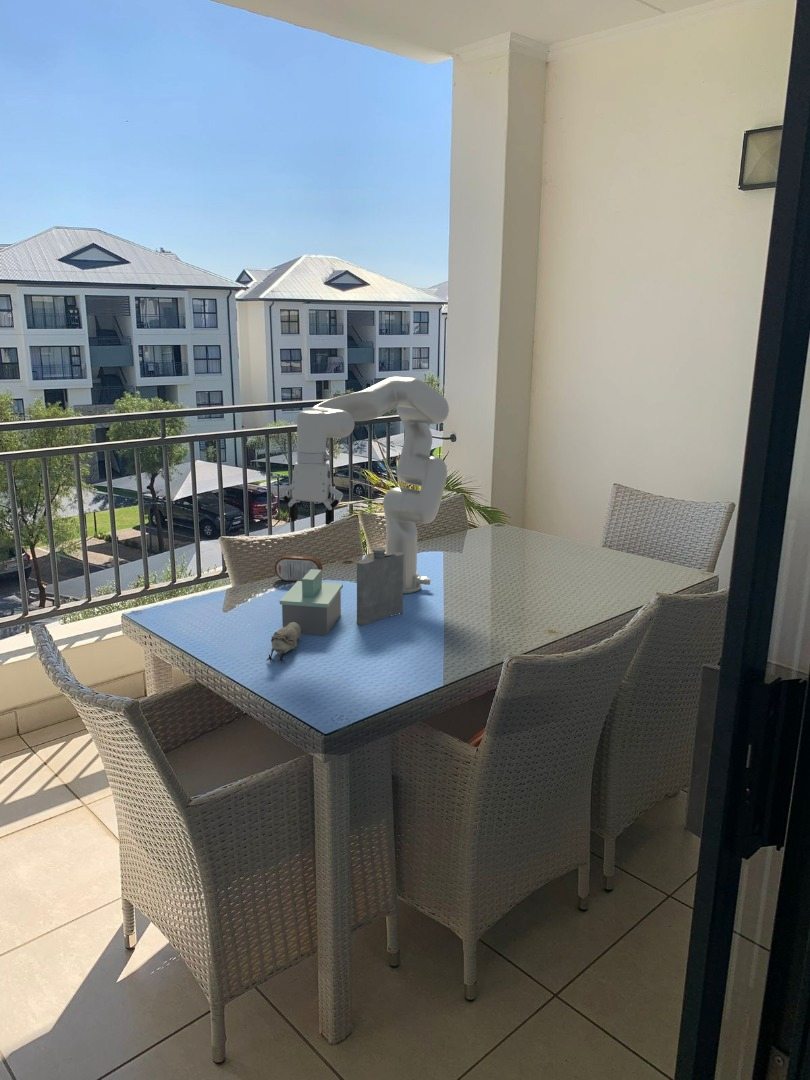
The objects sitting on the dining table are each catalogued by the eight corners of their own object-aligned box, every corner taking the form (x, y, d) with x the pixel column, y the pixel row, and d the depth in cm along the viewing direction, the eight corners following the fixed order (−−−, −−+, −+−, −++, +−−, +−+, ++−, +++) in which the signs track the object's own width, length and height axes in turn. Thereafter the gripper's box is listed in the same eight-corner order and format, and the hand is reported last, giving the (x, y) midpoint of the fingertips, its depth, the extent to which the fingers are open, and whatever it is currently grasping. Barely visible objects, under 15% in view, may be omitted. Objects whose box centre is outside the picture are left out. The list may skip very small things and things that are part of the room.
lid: (342, 590, 220) (342, 566, 218) (328, 611, 204) (327, 585, 202) (297, 587, 222) (297, 563, 220) (279, 607, 206) (279, 582, 204)
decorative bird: (307, 641, 203) (306, 614, 201) (285, 667, 188) (284, 637, 186) (287, 639, 204) (286, 612, 202) (263, 664, 189) (262, 635, 187)
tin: (322, 580, 251) (322, 555, 249) (320, 583, 248) (320, 558, 246) (276, 578, 252) (275, 553, 250) (274, 581, 249) (273, 556, 247)
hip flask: (361, 626, 213) (362, 555, 208) (352, 622, 216) (352, 552, 211) (404, 612, 224) (406, 545, 219) (395, 609, 227) (396, 542, 222)
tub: (340, 614, 222) (340, 587, 220) (326, 635, 206) (326, 606, 204) (299, 611, 223) (298, 584, 221) (282, 632, 208) (282, 603, 206)
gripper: (347, 458, 208) (346, 521, 212) (285, 454, 212) (286, 516, 216) (338, 462, 201) (338, 527, 205) (275, 458, 204) (275, 522, 209)
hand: (311, 522), depth 210 cm, fingers open, 9 cm apart
